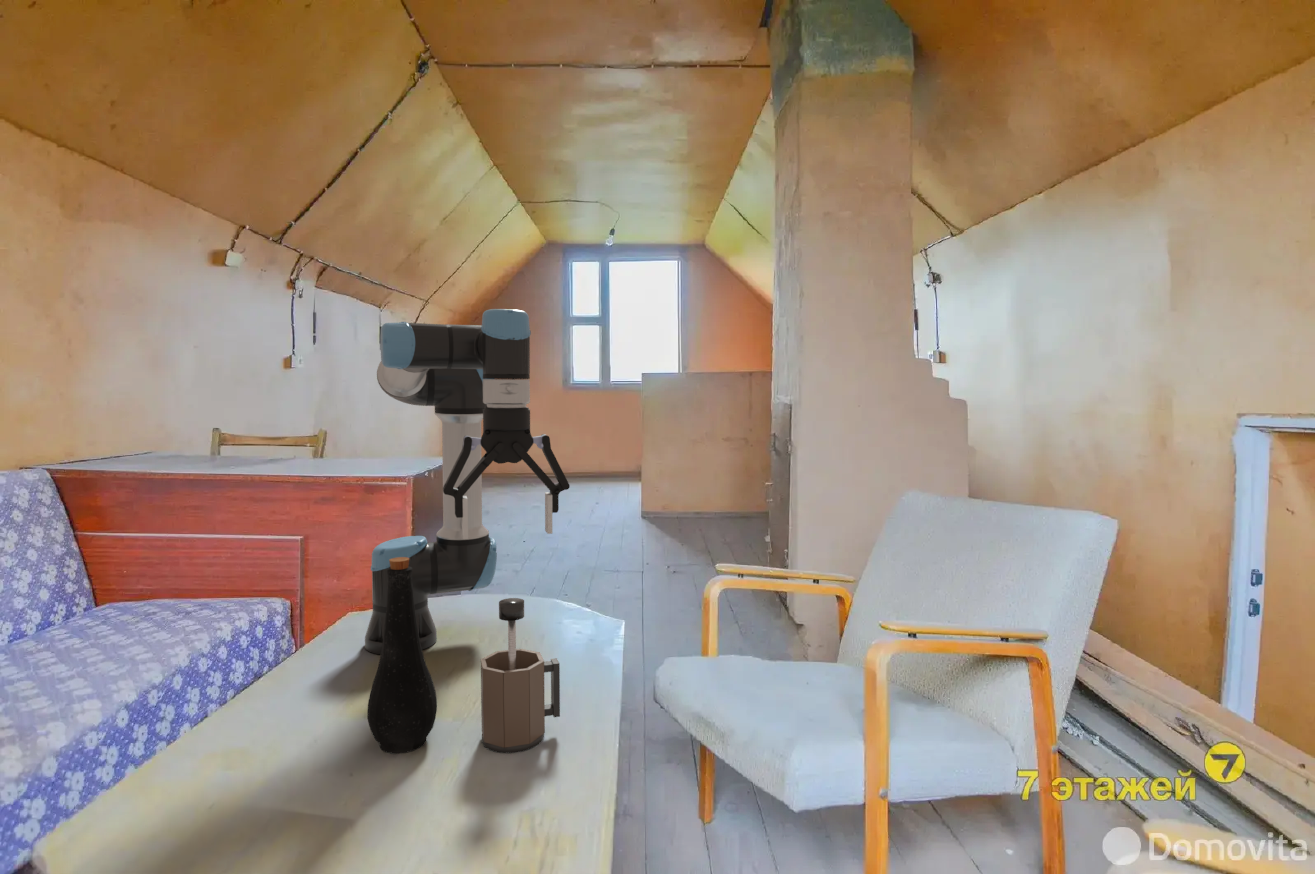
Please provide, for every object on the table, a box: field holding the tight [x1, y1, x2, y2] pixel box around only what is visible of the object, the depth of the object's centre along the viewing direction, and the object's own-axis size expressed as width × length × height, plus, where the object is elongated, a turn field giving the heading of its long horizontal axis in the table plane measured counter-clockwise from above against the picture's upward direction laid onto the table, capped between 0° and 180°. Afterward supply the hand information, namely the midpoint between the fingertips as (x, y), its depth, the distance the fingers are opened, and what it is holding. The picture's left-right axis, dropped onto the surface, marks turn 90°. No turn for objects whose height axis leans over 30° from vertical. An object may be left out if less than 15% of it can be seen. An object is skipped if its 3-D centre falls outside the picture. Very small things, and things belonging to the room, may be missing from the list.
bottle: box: [367, 557, 438, 755], centre depth 116 cm, size 11×11×30 cm
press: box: [480, 648, 561, 754], centre depth 118 cm, size 10×12×13 cm
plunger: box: [498, 597, 525, 670], centre depth 118 cm, size 7×7×21 cm
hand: (507, 534), depth 119 cm, fingers open, 13 cm apart
